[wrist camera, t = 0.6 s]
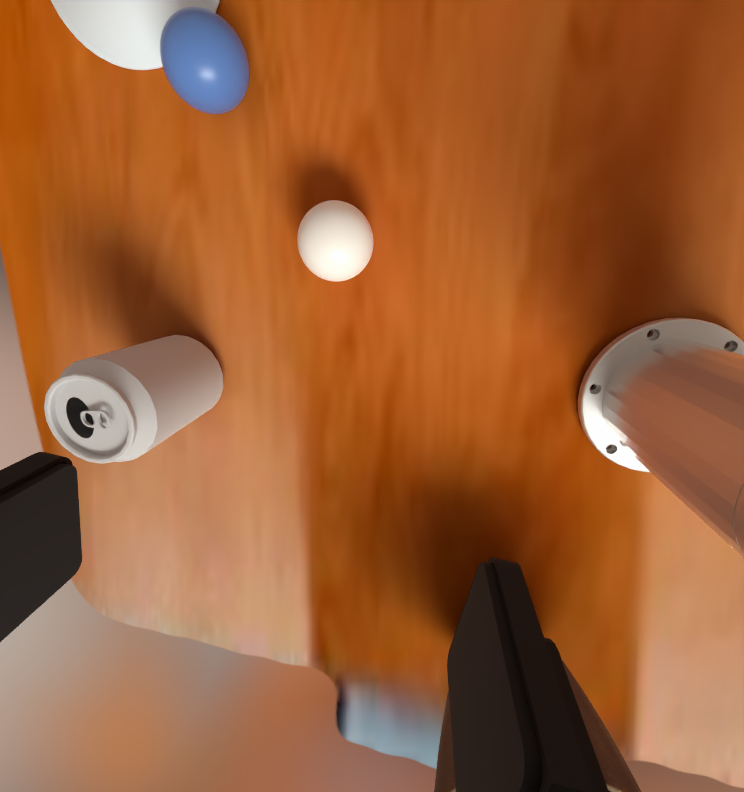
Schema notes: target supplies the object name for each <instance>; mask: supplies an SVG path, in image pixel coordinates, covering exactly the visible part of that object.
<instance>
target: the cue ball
mask: <svg viewBox="0 0 744 792" xmlns="http://www.w3.org/2000/svg"><path fill="white" fill-rule="evenodd" d="M297 243H298V250H299V253H300V256H301V258H302V260H303V262H304V263H305V265H306V266H307V267H308V269H309V270H310V271H311V272H313V273H314V274H315V275H317V276H318V277H320V278H322V279H325V280H329V281H345V280H348V279H351V278H353V277H355V276H356V275H358V274H359V273H360V272H361V271H362V270H363V269H364V268H365V267H366V265H367V264H368V262H369V260H370V258H371V255H372V251H373V233H372V229H371V226H370V224H369V222H368V220H367V219H366V217H365V216H364V215H363V213H362V212H361V211H360V210H359V209H357V208H356V207H355V206H353V205H351V204H349V203H347V202H344V201H339V200H329V201H325V202H322V203H319V204H317V205H316V206H314V207H313V208H311V209H310V210H309V211H308V212H307V213H306V215H305V216H304V217H303V219H302V221H301V223H300V226H299V230H298V235H297Z"/></svg>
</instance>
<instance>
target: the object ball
mask: <svg viewBox="0 0 744 792" xmlns="http://www.w3.org/2000/svg"><path fill="white" fill-rule="evenodd" d="M160 57H161V62H162V65H163V69H164V72H165V74H166V77H167V79H168V80H169V82H170V84H171V86H172V87H173V89H174V90H175V91H176V93H177V94H178V95H179V96H180V97H181V98H182V99H183V100H184V101H185V102H186V103H187V104H189V105H190V106H192V107H193V108H195V109H197V110H199V111H201V112H204V113H209V114H223V113H226V112H229V111H231V110H232V109H234V108H235V107H236V106H237V105H239V103H240V102H241V101H242V99H243V98H244V96H245V94H246V91H247V88H248V84H249V76H250V73H249V62H248V58H247V54H246V51H245V48H244V46H243V44H242V41H241V39H240V38H239V36H238V35H237V33H236V31H235V30H234V29H233V28H232V26H231V25H230V24H229V23H228V22H227V21H226V20H225V19H224V18H222V17H221V16H220V15H218V14H217V13H215V12H213V11H211V10H208V9H205V8H202V7H185V8H183V9H180V10H178V11H177V12H175V13H174V14H173V15H172V16H171V17H170V18H169V19H168V20H167V22H166V23H165V25H164V28H163V30H162V34H161V39H160Z"/></svg>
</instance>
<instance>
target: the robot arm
mask: <svg viewBox="0 0 744 792" xmlns="http://www.w3.org/2000/svg"><path fill="white" fill-rule="evenodd" d="M649 331H650V334H649V335H648V336H647V333H648V332H649ZM593 384H594V387H593V388H590V387H591V385H593ZM578 416H579V419H580V423H581V426H582V429H583V431H584V432H585V434H586V436H587V438H588V439H589V441H590V442H591V443H592V444H593V445H594V447H595V448H596V449H597V450H598V451H599V452H600V453H601V454H602V455H604V456H605V457H606V458H608V459H609V460H611V461H613V462H614V463H616V464H618V465H621V466H623V467H626V468H629V469H632V470H637V471H643V472H651V473H652V474H653V475H654V476H655V477H657V478H658V479H659V480H660V481H661V482H662V483H663V484H664V485H665V486H666V487H667V488H668V489H670V490H671V491H672V492H673V493H674V494H675V495H676V496H677V497H678V498H679V499H680V500H681V501H683V502H684V503H685V504H686V505H687V506H688V507H689V508H690V509H691V510H692V511H693V512H694V513H695V514H697V515H698V516H699V517H700V518H701V519H702V520H703V521H704V522H705V523H706V524H707V525H708V526H710V527H711V528H712V529H713V530H714V531H715V532H716V533H717V534H718V535H719V536H720V537H721V538H723V539H724V540H725V541H726V542H727V543H728V544H729V545H730V546H731V547H732V548H733V549H735V550H736V551H737V552H738V553H739V554H740V555H741V556H742V557H743V558H744V342H743V341H742V340H741V339H740V338H739V337H737V336H736V335H735V334H734V333H732V332H731V331H730V330H728V329H726V328H723V327H721V326H719V325H717V324H715V323H711V322H707V321H703V320H698V319H691V318H665V319H660V320H655V321H650V322H647V323H645V324H642V325H639V326H637V327H634V328H632V329H630V330H628V331H627V332H625V333H623V334H622V335H620V336H618V337H617V338H615V339H614V340H613V341H612V342H611V343H609V344H608V345H607V346H606V347H604V348H603V350H602V351H601V352H600V353H599V354H598V355H597V356H596V358H595V359H594V360H593V361H592V363H591V365H590V366H589V368H588V370H587V371H586V373H585V375H584V378H583V380H582V383H581V386H580V390H579V396H578ZM608 445H609V446H608ZM607 446H608V447H607ZM81 562H82V549H81V532H80V515H79V499H78V482H77V470H76V468H75V467H74V466H73V465H72V462H71V460H70V459H68V458H66V457H62V456H58V455H54V454H50V453H45V452H38V453H35V454H33V455H31V456H29V457H27V458H25V459H23V460H21V461H19V462H17V463H15V464H13V465H10V466H9V467H7V468H4V469H2V470H0V642H1V641H2V640H3V639H4V638H5V637H6V636H8V635H9V634H10V633H11V632H12V631H13V630H14V629H15V628H16V627H17V626H19V625H20V624H21V623H22V622H23V621H24V620H25V619H26V618H27V617H29V615H31V614H32V613H33V612H34V611H35V610H36V609H37V608H38V607H40V606H41V605H42V604H43V603H44V602H45V601H46V600H47V599H48V598H49V597H51V596H52V595H53V594H54V593H55V592H56V591H57V590H58V589H60V588H61V587H62V586H63V585H64V584H65V583H66V582H67V581H68V580H70V579H71V578H72V577H73V576H74V575H75V574H76V572H77V571H78V569H79V567H80V565H81ZM447 670H448V685H449V699H450V714H451V728H452V743H453V757H454V772H455V786H456V792H609V790H608V788H607V785H606V782H605V779H604V777H603V774H602V771H601V768H600V765H599V763H598V760H597V757H596V754H595V751H594V749H593V746H592V743H591V740H590V738H589V735H588V732H587V729H586V726H585V724H584V721H583V718H582V715H581V712H580V710H579V707H578V704H577V701H576V699H575V696H574V693H573V690H572V687H571V685H570V682H569V679H568V676H567V673H566V671H565V668H564V665H563V662H562V660H561V657H560V654H559V651H558V649H557V647H556V645H555V643H554V642H553V641H552V640H551V639H548V638H544V637H543V634H542V631H541V628H540V625H539V622H538V619H537V616H536V613H535V610H534V607H533V604H532V601H531V598H530V595H529V592H528V588H527V585H526V582H525V579H524V576H523V573H522V570H521V568H520V566H519V564H517V563H514V562H510V561H506V560H502V559H497V558H493V557H492V558H490V559H489V561H488V563H484V562H481V563H480V564H479V566H478V569H477V572H476V575H475V578H474V580H473V583H472V586H471V589H470V592H469V595H468V598H467V601H466V603H465V606H464V609H463V612H462V615H461V618H460V621H459V624H458V626H457V629H456V632H455V635H454V638H453V641H452V644H451V646H450V650H449V654H448V663H447Z"/></svg>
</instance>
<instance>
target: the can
mask: <svg viewBox="0 0 744 792" xmlns="http://www.w3.org/2000/svg"><path fill="white" fill-rule="evenodd" d="M222 390H223V374H222V371H221V368H220V365H219V362H218V361H217V359H216V358H215V356H214V355H213V353H212V352H211V351H210V350H209V349H208V348H207V347H206V346H204V345H203V344H202V343H201V342H199V341H197V340H195V339H193V338H191V337H188V336H182V335H172V336H167V337H163V338H159V339H155V340H152V341H148V342H145V343H141V344H137V345H134V346H130V347H127V348H123V349H119V350H116V351H112V352H109V353H105V354H101V355H98V356H94V357H91V358H87V359H83V360H80V361H76V362H74V363H73V364H72V365H70V366H69V367H67V368H66V369H65V370H64V371H63V372H62V374H61V376H60V377H59V379H57V380H56V381H55V382H53V383H52V384H51V386H50V388H49V389H48V391H47V393H46V397H45V404H44V409H45V415H46V420H47V423H48V425H49V427H50V429H51V431H52V433H53V435H54V436H55V437H56V439H57V440H58V441H59V442H60V443H61V445H62V446H63V447H65V448H66V449H67V450H68V451H70V452H71V453H72V454H74V455H75V456H77V457H80V458H82V459H84V460H86V461H89V462H95V463H108V462H114V461H116V462H123V461H129V460H134V459H136V458H137V457H139V456H141V455H143V454H144V453H146V452H147V451H149V450H150V449H152V448H153V447H155V446H156V445H158V444H159V443H161V442H162V441H164V440H165V439H167V438H168V437H170V436H171V435H173V434H174V433H176V432H177V431H179V430H180V429H182V428H183V427H185V426H186V425H188V424H189V423H191V422H192V421H194V420H195V419H197V418H198V417H199V416H201V415H202V414H204V413H205V412H207V411H208V410H210V409H211V408H213V407H214V405H215V404H216V403H217V402H218V400H219V399H220V396H221V393H222Z"/></svg>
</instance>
